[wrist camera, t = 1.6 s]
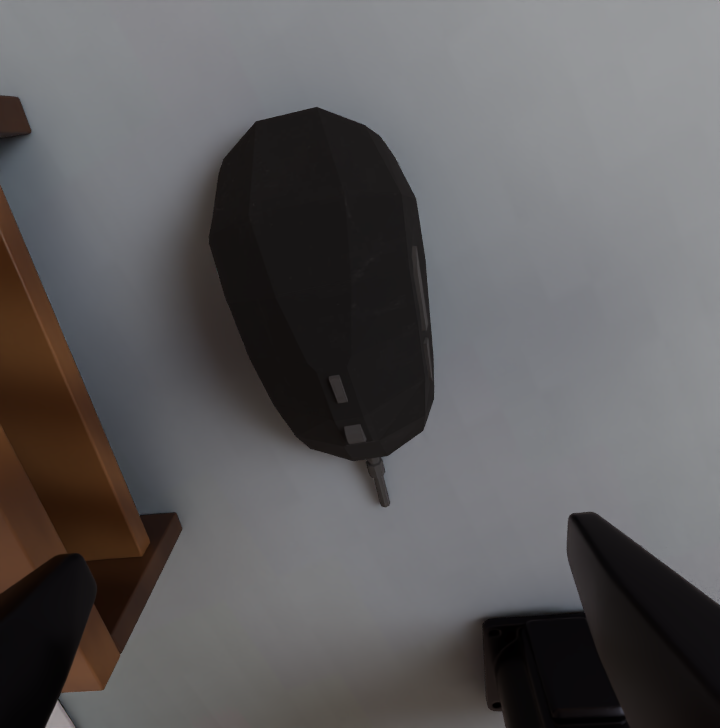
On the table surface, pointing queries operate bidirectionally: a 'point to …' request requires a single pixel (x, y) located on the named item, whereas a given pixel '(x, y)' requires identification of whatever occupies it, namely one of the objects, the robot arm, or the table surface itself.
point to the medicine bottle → (59, 718)
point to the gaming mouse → (328, 282)
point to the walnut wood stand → (64, 464)
